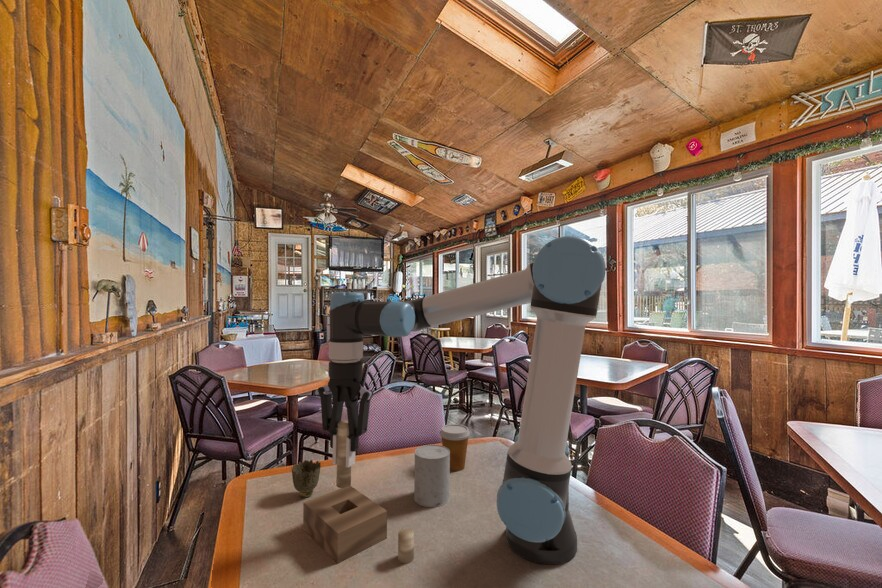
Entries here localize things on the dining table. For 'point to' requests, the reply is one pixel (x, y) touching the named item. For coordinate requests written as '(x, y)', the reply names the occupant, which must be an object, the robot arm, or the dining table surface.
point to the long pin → (342, 456)
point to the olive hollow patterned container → (306, 477)
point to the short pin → (405, 546)
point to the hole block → (344, 522)
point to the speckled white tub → (432, 475)
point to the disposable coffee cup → (455, 444)
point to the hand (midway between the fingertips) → (343, 463)
